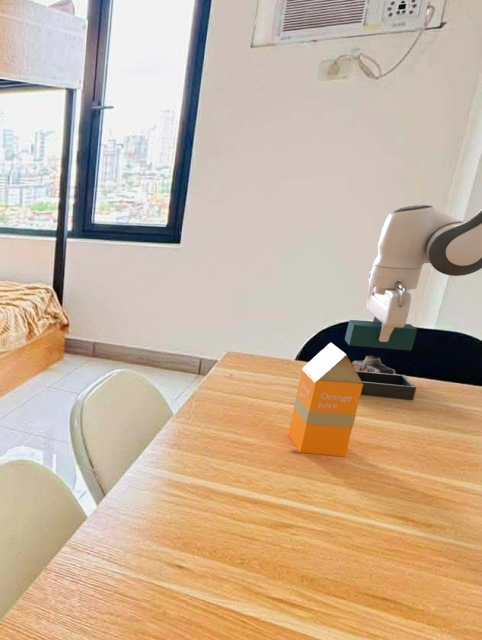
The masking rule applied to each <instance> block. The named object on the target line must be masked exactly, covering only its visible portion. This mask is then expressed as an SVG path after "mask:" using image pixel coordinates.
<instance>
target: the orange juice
mask: <svg viewBox="0 0 482 640" xmlns="http://www.w3.org/2000/svg"><path fill="white" fill-rule="evenodd" d="M351 363H352V362H351V360H350V359H349V357H348V355H347V354H346V352H344V351H343V350H341V349H340V348H339V347H338V346H337V345H335V344H334V343H332V342H329V343H328V344H327V345H326V346H325V347H324V348H323V349H321V350H320V351H319V352H318V353H317V354H316V355H315V356H314V357H313V358H312V359H310V360H309V361H308V363H307V364H305V365H304V366H303V367H302V368H301V371H300V378H299V381H298V386H297V391H296V396H295V400H294V404H293V410H292V414H291V415H292V416H291V419H290V424H289V429H288V433H287V435H288V437H289V438H290V440H291V441H292V443H293V444H294V446H295V447H296V449H297V450H298V452H299V453H303V454H314V455H323V456H332V457H333V456H334V457H342V458H343V457H346V455H347V452H348V451H347V450H348V447H349V443H350V437H351V435H352V430H353V428H354V424H355V421H356V420H355V419H356V416H357V415H356V414H357V410H358V406H359V403H360V398H361V391H362V387H363V383H362V381H361V379H360V378H359V376H358V374H357V373H356V371H355V369H354V367H353V366H352V364H351Z"/></svg>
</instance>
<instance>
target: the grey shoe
mask: <svg viewBox="0 0 482 640" xmlns="http://www.w3.org/2000/svg"><path fill="white" fill-rule="evenodd" d="M351 364H352V366H353V367H354V369H355V371H363V372H374V373H385V374H396V375H397V373H396V370H395V369H394V368H391V367H389V366H386V365H385V364H383V362H382V361H381V358H380V357H378V356H373V355H366V356H365V358H364V360H353V361H352V362H351Z"/></svg>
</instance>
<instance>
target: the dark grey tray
mask: <svg viewBox="0 0 482 640" xmlns="http://www.w3.org/2000/svg"><path fill="white" fill-rule="evenodd" d="M356 373H357V374H358V376H359V378H360V379H361V381H362V383H363V387H362V391H361V395H362V396H372V397H379V398H380V397H381V398H390V399H392V398H393V399H400V400H410V401H413V400H414V398H415V394H416V390H417V386H416V385H415V384H414V383H413V382H412V381H411V380H410V379H409V378H408V377H407V376H406V375H405V374H397V373H396V374H385V373H374V372H363V371H356ZM361 395H360V396H361Z"/></svg>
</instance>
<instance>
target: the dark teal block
mask: <svg viewBox="0 0 482 640" xmlns="http://www.w3.org/2000/svg"><path fill="white" fill-rule="evenodd" d="M381 328H382V322H372V320H371V321H370V320H356V319H349V320H348V324H347V328H346V333H345V337H344V341H345V342H346V343H347V345H348V346H352V347H365V348H378V349H388V350H398V351H413V350H412V349H413V346H414V343H415V339H416V335H417V332H418V328H416V327H415V326H414V325H412V324H411V323H406V324H405V325H404V327H394V329H393V331H392V333H391V334H390V337H389V340H388V341H387V342H381V341H379V340H378V336H379V333H380V332H381Z"/></svg>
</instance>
